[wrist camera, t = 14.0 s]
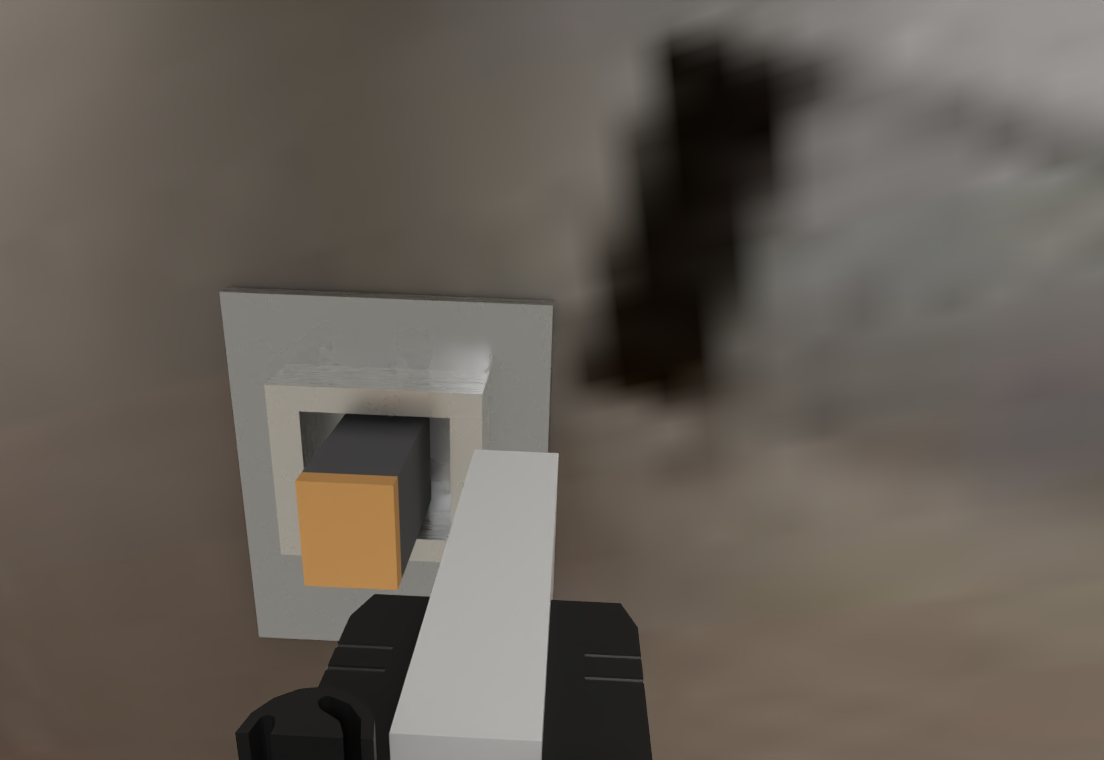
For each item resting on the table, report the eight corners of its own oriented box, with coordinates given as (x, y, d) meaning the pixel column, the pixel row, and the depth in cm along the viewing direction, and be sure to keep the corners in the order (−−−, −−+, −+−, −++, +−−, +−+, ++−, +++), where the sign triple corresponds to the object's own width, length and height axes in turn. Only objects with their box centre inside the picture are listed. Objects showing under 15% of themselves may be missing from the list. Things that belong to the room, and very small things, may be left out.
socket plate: (228, 287, 38) (189, 307, 34) (553, 300, 38) (550, 322, 34) (265, 625, 45) (237, 673, 41) (541, 639, 44) (538, 689, 41)
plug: (350, 407, 39) (295, 480, 31) (429, 410, 39) (393, 485, 31) (355, 495, 41) (304, 585, 33) (431, 499, 40) (397, 590, 33)
